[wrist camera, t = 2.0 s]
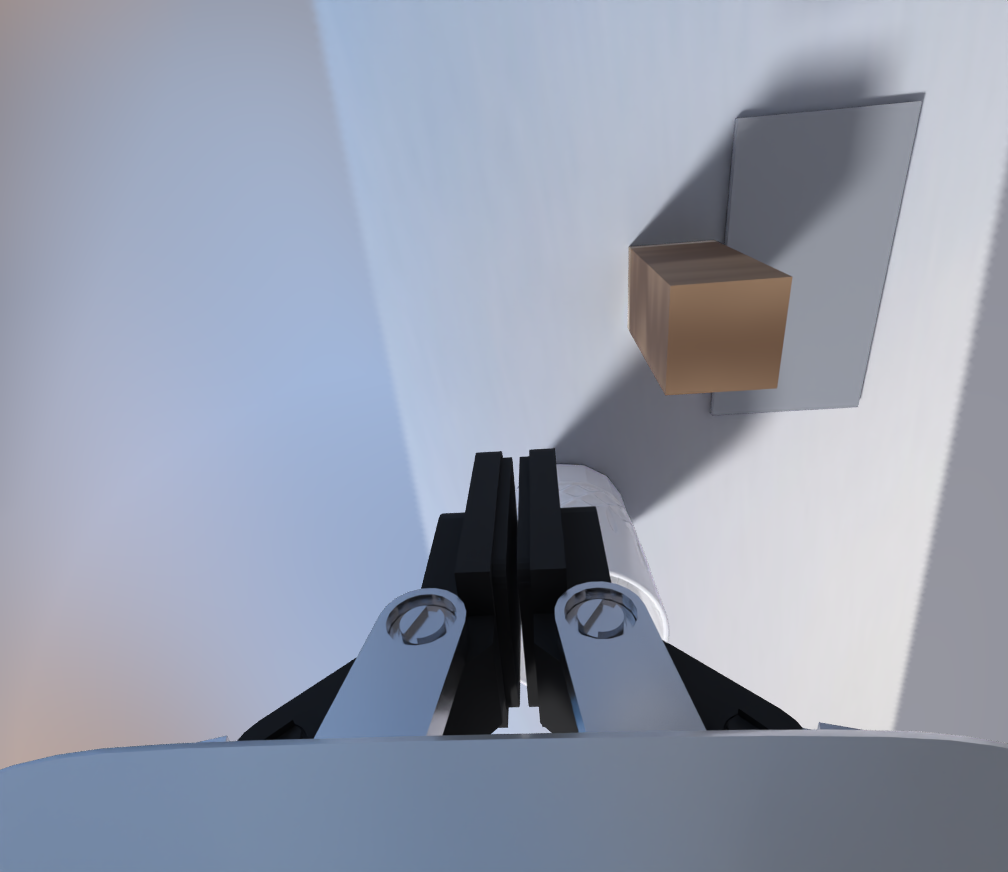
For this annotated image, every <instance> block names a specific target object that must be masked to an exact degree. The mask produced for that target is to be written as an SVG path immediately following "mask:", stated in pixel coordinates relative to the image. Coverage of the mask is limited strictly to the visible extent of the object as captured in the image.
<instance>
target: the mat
mask: <svg viewBox="0 0 1008 872" xmlns="http://www.w3.org/2000/svg"><path fill="white" fill-rule="evenodd" d="M921 104H922V101H915V102H904V103H894V104H883V105H873V106H862V107H851V108H841V109H830V110H820V111H809V112H799V113H788V114H778V115H767V116H757V117H746V118H737V119H735V129H734V140H733V152H732V164H731V176H730V187H729V199H728V211H727V223H726V234H725V245H726V246H728V247H730V248H732V249H735V250H737V251H739V252H741V253H743V254H745V255H747V256H749V257H752V258H754V259H756V260H758V261H760V262H762V263H764V264H767V265H769V266H771V267H773V268H775V269H777V270H779V271H781V272H784V273H786V274H788V275H790V276H792V277H793V278H792V285H791V292H790V299H789V306H788V314H787V321H786V328H785V335H784V343H783V350H782V357H781V364H780V371H779V379H778V386H777V389H761V390H745V391H728V392H712V399H711V411H710V413H711V414H712V415H730V414H747V413H764V412H782V411H799V410H816V409H834V408H851V407H858V404H859V399H860V395H861V390H862V385H863V380H864V376H865V371H866V366H867V361H868V357H869V352H870V347H871V342H872V337H873V333H874V328H875V323H876V318H877V314H878V309H879V304H880V299H881V295H882V290H883V285H884V280H885V276H886V271H887V266H888V261H889V257H890V252H891V247H892V242H893V237H894V233H895V228H896V223H897V218H898V214H899V209H900V204H901V199H902V195H903V190H904V185H905V180H906V176H907V171H908V166H909V161H910V157H911V152H912V147H913V142H914V137H915V133H916V128H917V123H918V118H919V114H920V109H921Z"/></svg>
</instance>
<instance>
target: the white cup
mask: <svg viewBox="0 0 1008 872" xmlns="http://www.w3.org/2000/svg"><path fill="white" fill-rule="evenodd" d="M556 467H557V477H558V488H559V498H560V508H567V507H587V506H596V509H597V513H598V518H599V523H600V528H601V533H602V538H603V543H604V548H605V553H606V558H607V563H608V568H609V573H610V578H611V583H614V584H618V585H620V586H623V587H625V588H628V589H629V590H631V591H632V592H634V593H635V594H636V595H638V596H639V597H640V599H641V600H642V602H643V603H644V604H645V606H646V608H647V610H648V612H649V614H650V616H651V618H652V620H653V622H654V624H655V626H656V628H657V630H658V632H659V634H660V636H661V638H662V640H664V641H665V642H667V643H668V641H669V622H668V618H667V614H666V612H665V609H664V606H663V604H662V601H661V598H660V595H659V593H658V590H657V587H656V584H655V581H654V579H653V576H652V573H651V570H650V567H649V565H648V562H647V559H646V556H645V553H644V551H643V548H642V545H641V543H640V541H639V539H638V536H637V533H636V531H635V528H634V525H633V523H632V521H631V519H630V517H629V515H628V513H627V511H626V508H625V505H624V502H623V499H622V496H621V494H620V493H619V491H618V490H617V489H616V488H615V486H614V485H613V484H612V482H611V481H610V480H609V479H608V477H607V476H605V475H603V474H601V473H599V472H597V471H595V470H593V469H591V468H589V467H587V466H585V465H570V464H556ZM515 495H516V507H517V519H518V500H519V488H518V489H517V490H516V492H515ZM520 682H521V683H522V684H524V685H526V686H527V681H526V670H525V659H524V648H523V637H522V627H521V658H520Z"/></svg>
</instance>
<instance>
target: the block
mask: <svg viewBox="0 0 1008 872" xmlns="http://www.w3.org/2000/svg"><path fill="white" fill-rule="evenodd" d="M792 278H793V277H792V276H790V275H788V274H786V273H784V272H781V271H779V270H777V269H775V268H773V267H771V266H769V265H767V264H764V263H762V262H760V261H758V260H756V259H754V258H752V257H749V256H747V255H745V254H743V253H741V252H739V251H737V250H735V249H732V248H730V247H728V246H726V245H724V244H722V243H720V242H717V241H715V240H707V241H694V242H682V243H669V244H656V245H644V246H631V247H629V269H628V330H629V331H630V333H631V335H632V337H633V338H634V340H635V342H636V344H637V346H638V347H639V349H640V351H641V353H642V355H643V356H644V358H645V360H646V362H647V363H648V365H649V367H650V369H651V371H652V372H653V374H654V376H655V378H656V379H657V381H658V383H659V385H660V387H661V388H662V390H663V392H664V394H665V395H679V394H695V393H712V392H728V391H745V390H761V389H777V386H778V379H779V371H780V364H781V357H782V350H783V343H784V335H785V328H786V321H787V314H788V306H789V299H790V292H791V285H792Z"/></svg>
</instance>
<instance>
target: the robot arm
mask: <svg viewBox="0 0 1008 872" xmlns="http://www.w3.org/2000/svg"><path fill="white" fill-rule="evenodd" d="M521 627H522V637H523V648H524V659H525V670H526V681H527V692H528V703H529V707H539V713H540V723H541V724H542V727H546V728H547V729H548V730H549V731H550V732H552V733H536V734H491V733H493V732H494V731H495V730H496V729H497V728H508V711H509V707H519V706H520V658H521ZM0 872H1008V743H1004V742H998V741H992V740H987V739H981V738H975V737H970V736H960V735H949V734H940V733H930V732H919V731H877V730H861V729H855V728H849V727H843V726H837V725H832V724H826V723H820V722H819V724H818V729H817V730H811V729H805V728H802V727H801V726H800V724H799V723H798V722H797V721H796V720H795V719H793V718H792V717H791V716H789V715H788V714H787V713H785V712H784V711H783V710H781V709H780V708H778V707H776V706H775V705H773V704H771V703H769V702H768V701H766V700H764V699H763V698H761V697H759V696H758V695H756V694H754V693H752V692H751V691H749V690H747V689H746V688H744V687H742V686H740V685H739V684H737V683H735V682H734V681H732V680H730V679H729V678H727V677H725V676H723V675H722V674H720V673H718V672H717V671H715V670H713V669H711V668H710V667H708V666H706V665H705V664H703V663H701V662H700V661H698V660H696V659H694V658H693V657H691V656H689V655H688V654H686V653H684V652H683V651H681V650H679V649H677V648H676V647H674V646H672V645H671V644H669V643H667V642H665V641H664V640H662V638H661V636H660V634H659V632H658V630H657V628H656V626H655V624H654V622H653V620H652V618H651V616H650V614H649V612H648V610H647V608H646V606H645V604H644V603H643V602H642V600H641V599H640V597H639V596H638V595H636V594H635V593H634V592H632V591H631V590H629V589H628V588H625V587H623V586H620V585H618V584H614V583H611V578H610V573H609V568H608V563H607V558H606V553H605V548H604V543H603V538H602V533H601V528H600V523H599V518H598V513H597V509H596V506H587V507H567V508H560V498H559V488H558V477H557V467H556V456H555V448H552V449H534V450H529V456H528V457H520V464H519V500H518V519H517V507H516V495H515V484H514V472H513V461H512V457H510V458H503V455H502V451H499V452H481V453H476V455H475V461H474V466H473V472H472V477H471V483H470V488H469V494H468V500H467V505H466V511H465V513H445V514H441V515H440V517H439V520H438V524H437V528H436V532H435V536H434V540H433V544H432V548H431V552H430V555H429V559H428V563H427V567H426V572H425V575H424V580H423V583H422V587H421V589H419V590H415V591H411V592H408V593H405V594H403V595H401V596H399V597H397V598H396V599H394V600H393V601H392V602H391V603H389V604H388V605H387V606H386V607H385V608H384V610H383V611H382V612H381V614H380V615H379V617H378V619H377V621H376V623H375V624H374V626H373V628H372V630H371V632H370V634H369V636H368V637H367V639H366V641H365V643H364V645H363V647H362V649H361V651H360V652H359V654H358V656H357V658H355V659H354V660H352V661H350V662H349V663H347V664H346V665H344V666H343V667H341V668H340V669H338V670H337V671H335V672H334V673H332V674H330V675H329V676H327V677H326V678H325V679H323V680H321V681H320V682H318V683H317V684H315V685H314V686H312V687H310V688H309V689H307V690H306V691H304V692H303V693H301V694H300V695H298V696H297V697H295V698H294V699H292V700H291V701H289V702H288V703H286V704H284V705H283V706H281V707H280V708H278V709H277V710H275V711H274V712H272V713H271V714H269V715H267V716H266V717H264V718H263V719H261V720H260V721H258V722H257V723H256V724H254V725H253V726H252V727H251V728H249V729H248V730H247V731H246V732H244V734H243V735H242V736H241V737H240V738H239V739H238V741H229V739H228V736H223V737H218V738H214V739H210V740H205V741H201V742H196V743H177V744H159V745H145V746H130V747H115V748H102V749H94V750H88V751H80V752H73V753H66V754H59V755H54V756H50V757H46V758H42V759H37V760H33V761H29V762H25V763H20V764H16V765H12V766H9V767H7V768H4V769H1V770H0Z"/></svg>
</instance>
